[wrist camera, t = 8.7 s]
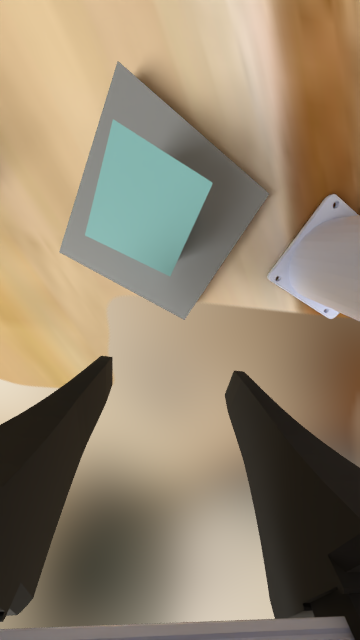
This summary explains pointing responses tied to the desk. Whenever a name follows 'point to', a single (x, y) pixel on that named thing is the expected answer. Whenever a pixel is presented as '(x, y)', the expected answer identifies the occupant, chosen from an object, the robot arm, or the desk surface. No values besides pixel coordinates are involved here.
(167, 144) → the slate base
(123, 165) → the teal block
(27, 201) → the desk surface
